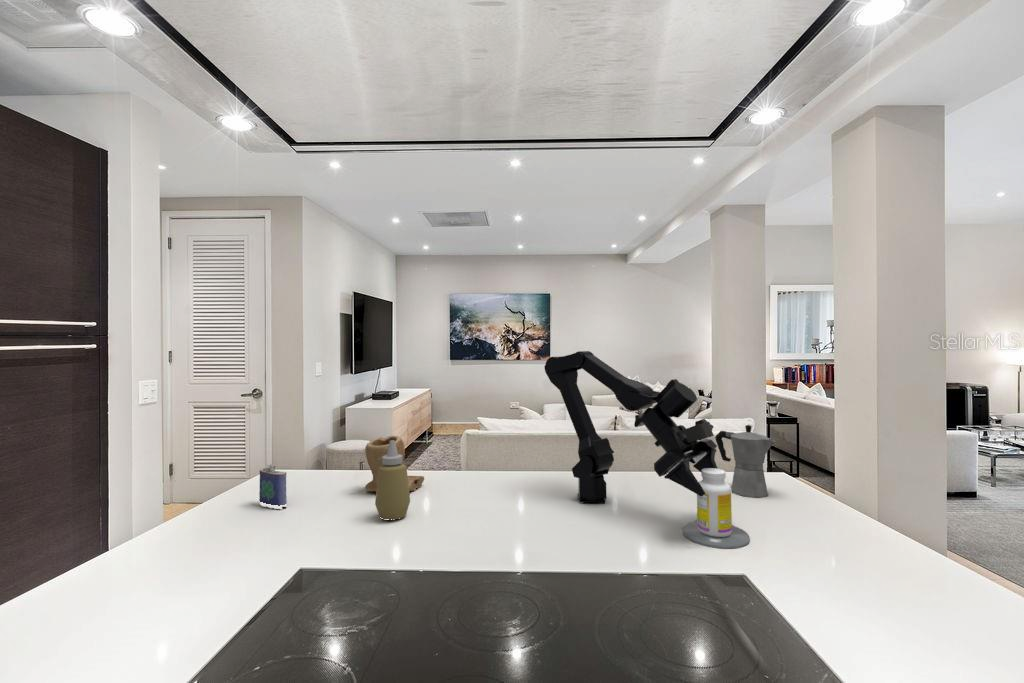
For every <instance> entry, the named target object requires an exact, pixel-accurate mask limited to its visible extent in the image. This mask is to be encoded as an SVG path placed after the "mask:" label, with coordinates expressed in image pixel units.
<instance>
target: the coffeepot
mask: <svg viewBox="0 0 1024 683" xmlns="http://www.w3.org/2000/svg"><path fill="white" fill-rule="evenodd" d="M744 427H745V430H746V431H742V432H733V431H725V430H720V431H719V432H718V433H717V434H716V435H715V438H714V439H715V442H716V445H717V447H718V450H719V453H720V454H719V455H720V457H721V459H722V461H724V462H730V461H732V458H730V457H727V453H726V449H725V445H724V441H723V438H724V439H727V440H731V441H730V442H731V446H732V452H733V460H734V461H735V462H734V465H735V466H734V468H733V469H734V470H733V476H732V481H731V486H730V488H731V493H733V494H735V495H736V496H737V495H738V496H741V497H746V498H755V499H758V498H759V499H760V498H761V499H762V498H765V497H767V496H768V495H769V493H768V488H767V482H766V478H765V477H766V476H765V471H764V463H765V459H766V454H767V453H768V451H769V450H770V448H771V447H772V445H774V444H775V443H777V442H776V440H775V439H773V438H770V437H767V435H764V434H759V433H755V432H752V427H753V426H752V425H750V424H747V425H744Z"/></svg>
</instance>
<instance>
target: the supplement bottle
mask: <svg viewBox="0 0 1024 683" xmlns="http://www.w3.org/2000/svg"><path fill="white" fill-rule="evenodd" d="M700 473H701V475H700V476H701V478H702V480H700V481H698V482H699V484H700V485H701V487H702V488H703V490H704V492H705V494H704V495H703V496H699V495H697V494H696V516H697V518H696V521H697V524H698V529H699V531H700V532H701V533H703V534H705V535H708V536H713V537H726V536H729V535H730V534H731V533H732V525H733V520H732V515H733V512H732V489H731V486H730V485H729V483H727V482H725V479H726V477H727V473H726V471H725V470H723V469H722V468H721V469H720V468H718V469H715V468H704V469H702V470H701V472H700Z"/></svg>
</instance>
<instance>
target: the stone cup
mask: <svg viewBox="0 0 1024 683" xmlns="http://www.w3.org/2000/svg"><path fill="white" fill-rule="evenodd" d="M390 440H395V444H396V448H397V452H398V454H400V455H402V463H403V464H405V463H404V462H405V456H406V452H405V451H406V449H405V443H404V441H403V439H402V437H400V436H398V435H388V436H387V437H376V438H375V439H372V440H370V441H369V442H367V443H366V445H365V449H364V450H365V457H366V460H367V461H366V462H367V465H368V466H369V469H370V471H371V474H372V480H371V481H369V482H368V483H367V484H365V487H364V488H365V490H366V491H367V492H374V491H375V492H374V493H376V489H377V478H378V468H379V467H380V466H381V465H383V464H382V457H383V456H384V455H387V452H388V447H389V442H390ZM407 476H408V485H409V492H412V491H413V490H414V489H416V488H417V489H419V488H420V487H421V486H422V484H423V482H424V481H425V476H423V475H407ZM418 487H419V488H418ZM417 489H416V490H417ZM414 491H415V490H414Z"/></svg>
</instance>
